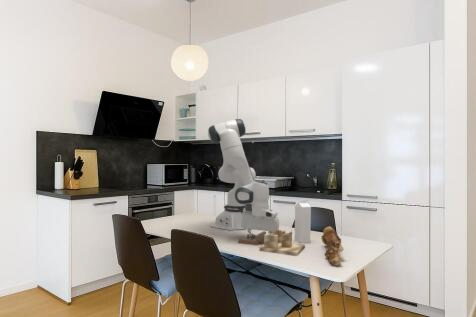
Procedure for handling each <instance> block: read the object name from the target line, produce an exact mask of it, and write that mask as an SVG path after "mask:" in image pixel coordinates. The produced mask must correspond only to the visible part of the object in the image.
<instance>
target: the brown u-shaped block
mask: <svg viewBox="0 0 476 317" xmlns="http://www.w3.org/2000/svg"><path fill="white" fill-rule="evenodd" d="M265 234H267V231H263V230H262V231H261V232H260V233H257V234H253V237H252V238H250V237H249V233H248V234H246V238H247V239H244V238H238V244H245V245H251V246H259V245H260V244H262V243H263V242H264V235H265Z"/></svg>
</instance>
